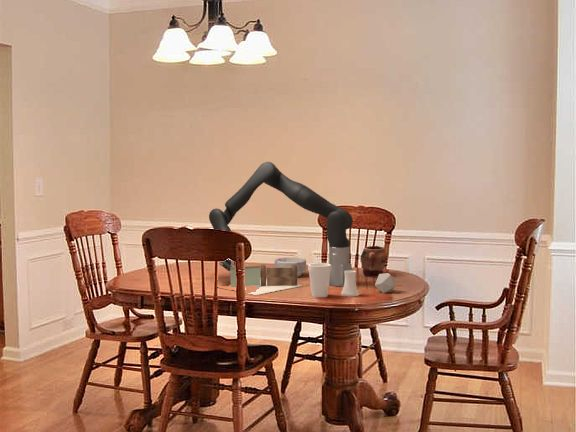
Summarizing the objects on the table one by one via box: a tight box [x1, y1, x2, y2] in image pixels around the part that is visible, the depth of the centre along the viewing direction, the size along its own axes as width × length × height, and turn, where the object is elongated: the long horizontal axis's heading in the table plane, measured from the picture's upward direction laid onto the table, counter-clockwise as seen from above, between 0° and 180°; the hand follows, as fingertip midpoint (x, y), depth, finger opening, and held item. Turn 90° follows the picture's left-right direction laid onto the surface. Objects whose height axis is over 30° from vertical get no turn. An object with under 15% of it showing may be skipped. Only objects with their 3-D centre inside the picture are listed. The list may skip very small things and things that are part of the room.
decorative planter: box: [360, 245, 387, 278], centre depth 330 cm, size 20×12×14 cm, turn 168°
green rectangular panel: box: [230, 265, 261, 287], centre depth 305 cm, size 13×2×9 cm, turn 105°
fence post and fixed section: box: [260, 264, 298, 286], centre depth 307 cm, size 16×2×9 cm, turn 90°
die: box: [374, 272, 398, 294], centre depth 293 cm, size 8×9×10 cm
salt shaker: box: [340, 270, 360, 298], centre depth 287 cm, size 8×8×10 cm
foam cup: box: [307, 262, 331, 298], centre depth 286 cm, size 10×9×13 cm
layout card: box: [245, 278, 304, 296], centre depth 306 cm, size 26×28×1 cm
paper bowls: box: [274, 257, 307, 278], centre depth 333 cm, size 15×15×8 cm
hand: (238, 277), depth 305 cm, fingers closed
